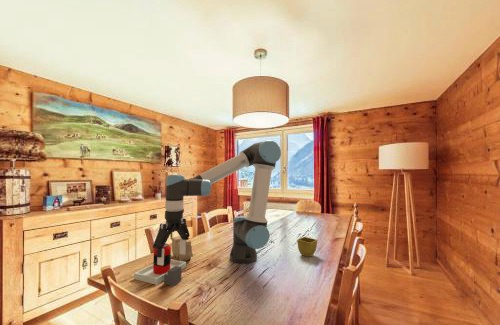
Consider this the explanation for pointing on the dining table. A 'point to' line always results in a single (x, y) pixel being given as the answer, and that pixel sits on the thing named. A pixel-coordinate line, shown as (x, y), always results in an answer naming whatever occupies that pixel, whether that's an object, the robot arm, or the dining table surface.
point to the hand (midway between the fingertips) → (172, 259)
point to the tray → (153, 278)
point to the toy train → (177, 249)
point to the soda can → (167, 260)
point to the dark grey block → (173, 276)
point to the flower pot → (307, 246)
